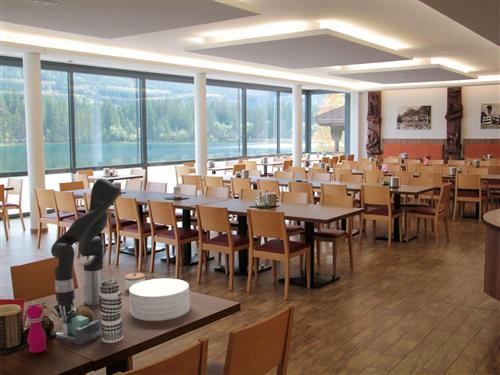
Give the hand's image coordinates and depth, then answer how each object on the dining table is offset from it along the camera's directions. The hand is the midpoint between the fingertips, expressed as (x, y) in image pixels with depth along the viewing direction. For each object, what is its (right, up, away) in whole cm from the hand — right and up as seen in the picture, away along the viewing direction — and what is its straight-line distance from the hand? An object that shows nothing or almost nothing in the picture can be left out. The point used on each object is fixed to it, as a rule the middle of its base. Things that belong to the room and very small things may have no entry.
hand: (67, 327), depth 235 cm
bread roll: (+1, -1, +17) cm, 17 cm away
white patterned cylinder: (+21, -3, -6) cm, 22 cm away
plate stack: (+35, +1, +27) cm, 45 cm away
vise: (+6, -3, -3) cm, 7 cm away
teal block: (+7, -2, -4) cm, 9 cm away
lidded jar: (+17, +5, +59) cm, 62 cm away
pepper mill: (-7, -5, -15) cm, 17 cm away
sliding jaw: (+4, -1, -2) cm, 4 cm away
